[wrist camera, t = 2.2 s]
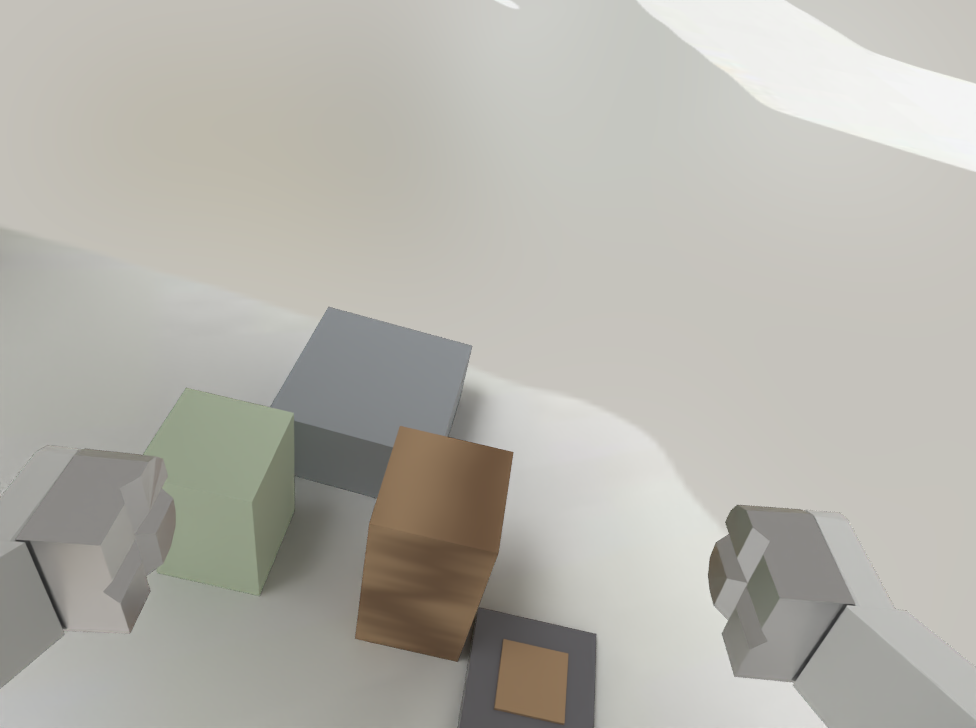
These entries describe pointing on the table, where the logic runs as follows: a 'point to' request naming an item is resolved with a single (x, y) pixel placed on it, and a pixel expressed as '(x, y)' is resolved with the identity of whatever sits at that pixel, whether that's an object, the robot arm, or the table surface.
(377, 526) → the walnut block
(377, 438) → the slate base block
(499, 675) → the card
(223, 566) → the sage green block
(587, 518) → the table surface
